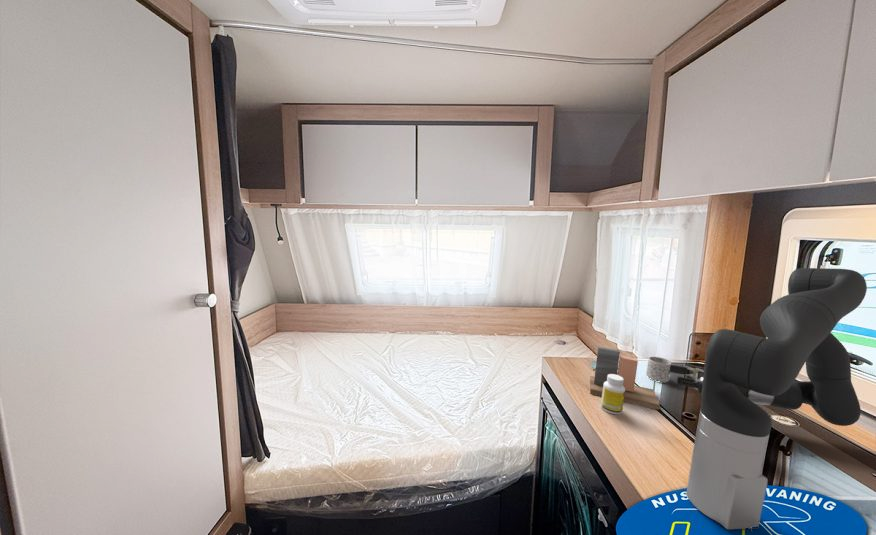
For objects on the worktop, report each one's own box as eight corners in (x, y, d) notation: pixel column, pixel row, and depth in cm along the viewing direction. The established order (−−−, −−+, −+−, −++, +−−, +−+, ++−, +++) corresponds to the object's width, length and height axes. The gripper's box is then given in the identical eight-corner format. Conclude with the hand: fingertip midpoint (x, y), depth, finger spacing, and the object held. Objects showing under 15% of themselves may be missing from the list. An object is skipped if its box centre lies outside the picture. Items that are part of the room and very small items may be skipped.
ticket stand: (659, 409, 91) (665, 365, 90) (590, 393, 99) (595, 351, 97) (652, 394, 100) (658, 353, 99) (589, 380, 108) (594, 341, 106)
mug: (673, 384, 108) (675, 365, 107) (651, 381, 109) (654, 363, 108) (657, 371, 118) (660, 354, 117) (638, 369, 119) (640, 352, 118)
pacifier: (600, 366, 120) (587, 367, 119) (602, 350, 120) (589, 351, 118) (616, 375, 113) (602, 376, 112) (618, 358, 113) (605, 359, 111)
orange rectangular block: (633, 392, 97) (637, 361, 96) (616, 388, 99) (620, 357, 98) (632, 389, 99) (636, 358, 98) (615, 385, 101) (619, 355, 100)
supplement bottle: (625, 416, 87) (629, 382, 86) (603, 413, 88) (608, 380, 87) (618, 405, 93) (622, 374, 91) (598, 403, 94) (602, 371, 92)
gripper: (736, 364, 93) (669, 353, 100) (760, 386, 80) (681, 371, 87) (732, 388, 94) (666, 375, 101) (755, 413, 81) (677, 397, 88)
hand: (673, 373), depth 94 cm, fingers open, 8 cm apart
